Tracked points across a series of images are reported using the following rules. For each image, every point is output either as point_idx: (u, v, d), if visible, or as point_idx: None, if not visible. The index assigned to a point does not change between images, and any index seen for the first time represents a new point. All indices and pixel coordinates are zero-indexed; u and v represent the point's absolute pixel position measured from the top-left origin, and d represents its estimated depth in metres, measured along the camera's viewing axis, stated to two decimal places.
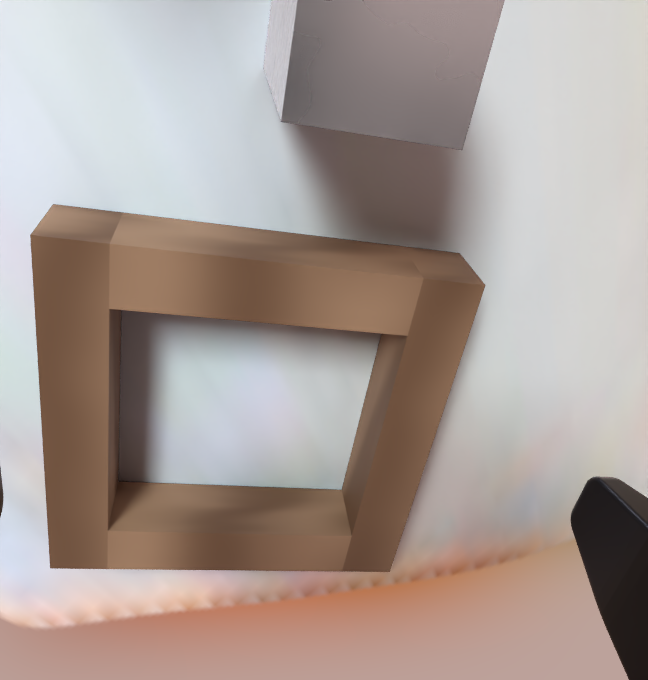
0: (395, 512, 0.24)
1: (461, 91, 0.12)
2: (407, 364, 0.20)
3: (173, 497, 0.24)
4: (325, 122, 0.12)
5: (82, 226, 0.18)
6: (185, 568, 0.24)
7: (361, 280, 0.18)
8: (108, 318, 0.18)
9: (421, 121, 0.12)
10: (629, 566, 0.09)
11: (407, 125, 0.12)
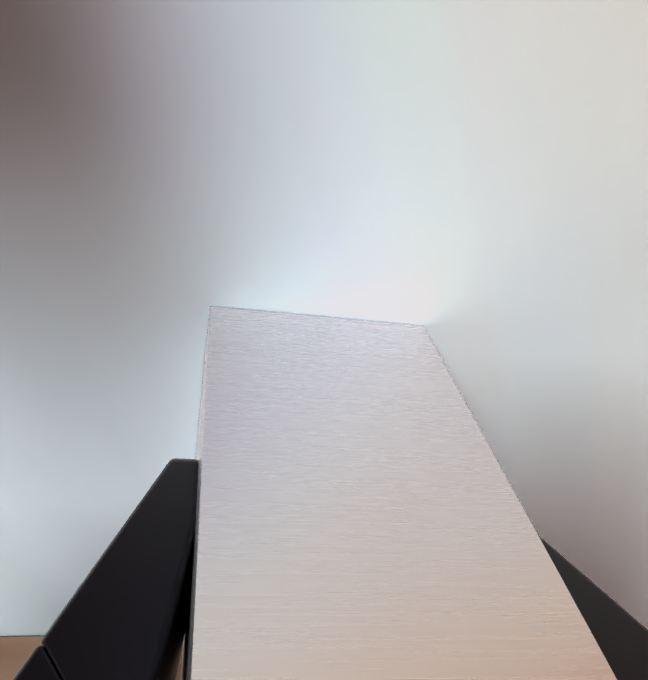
0: None
1: None
2: None
3: None
4: None
5: None
6: None
7: None
8: None
9: None
10: None
11: None
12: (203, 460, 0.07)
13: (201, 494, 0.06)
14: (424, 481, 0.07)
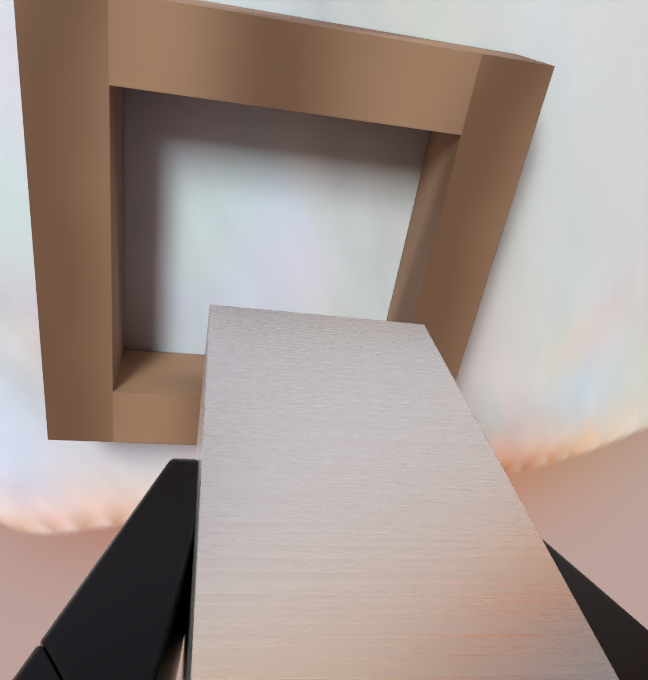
0: None
1: None
2: (460, 175, 0.17)
3: (187, 365, 0.21)
4: None
5: None
6: None
7: (408, 53, 0.15)
8: (108, 99, 0.15)
9: None
10: None
11: None
12: (203, 458, 0.07)
13: (201, 492, 0.06)
14: (424, 479, 0.07)
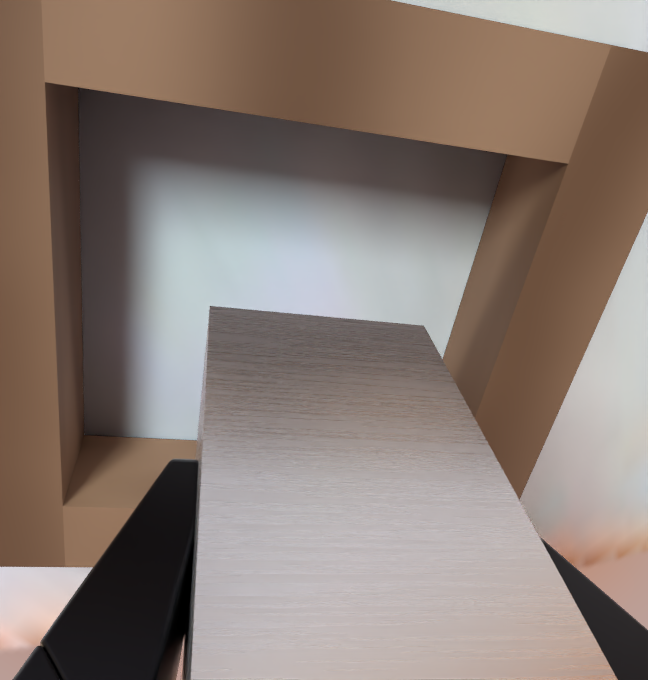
0: None
1: None
2: (560, 220, 0.12)
3: (167, 458, 0.16)
4: None
5: None
6: None
7: (503, 42, 0.10)
8: (44, 103, 0.10)
9: None
10: None
11: None
12: (203, 460, 0.07)
13: (201, 494, 0.06)
14: (424, 481, 0.07)
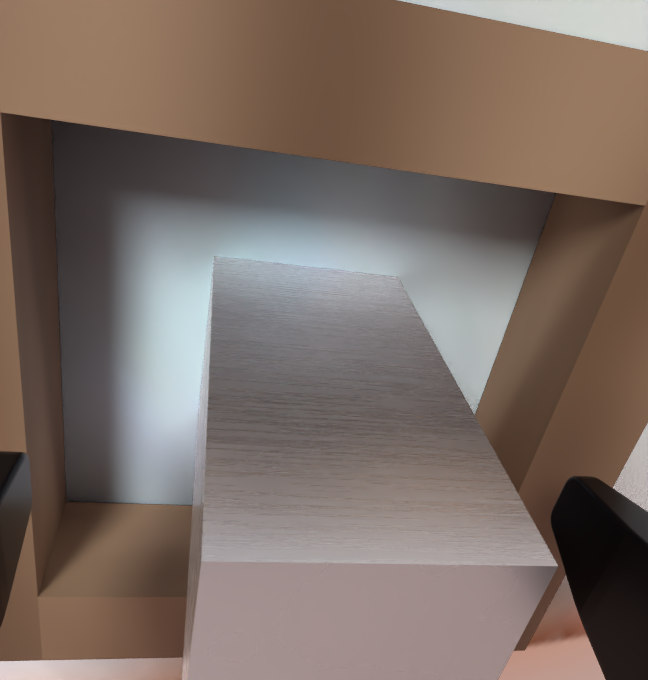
0: (552, 555, 0.13)
1: None
2: (631, 271, 0.10)
3: (161, 529, 0.14)
4: None
5: None
6: (182, 655, 0.13)
7: (576, 61, 0.08)
8: (1, 139, 0.08)
9: None
10: (606, 566, 0.09)
11: None
12: (210, 361, 0.09)
13: (209, 382, 0.08)
14: (387, 382, 0.09)
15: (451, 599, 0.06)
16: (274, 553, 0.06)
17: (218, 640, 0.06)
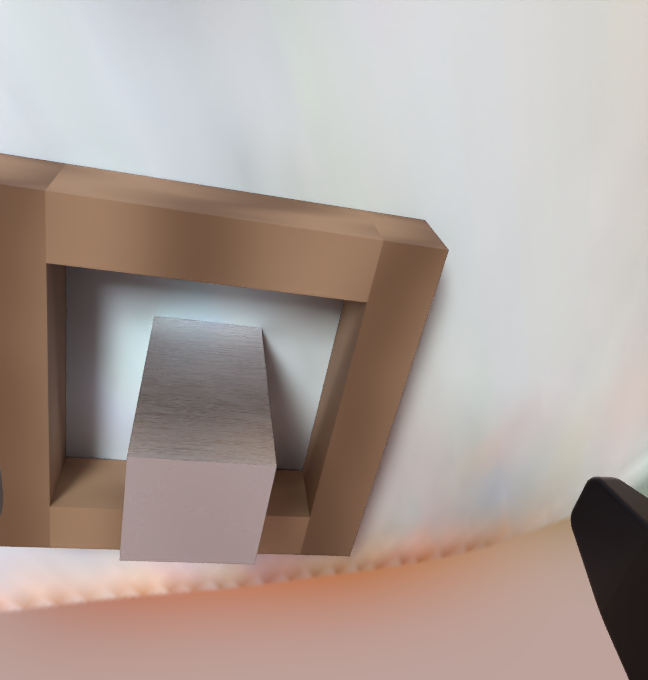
0: (355, 492, 0.23)
1: (247, 537, 0.17)
2: (367, 333, 0.19)
3: (123, 474, 0.23)
4: (151, 558, 0.17)
5: (18, 173, 0.16)
6: None
7: (317, 239, 0.17)
8: (45, 273, 0.17)
9: (221, 552, 0.17)
10: (629, 566, 0.09)
11: (211, 555, 0.17)
12: (142, 377, 0.18)
13: (140, 387, 0.17)
14: (231, 389, 0.18)
15: (232, 479, 0.16)
16: (156, 456, 0.15)
17: (135, 492, 0.15)
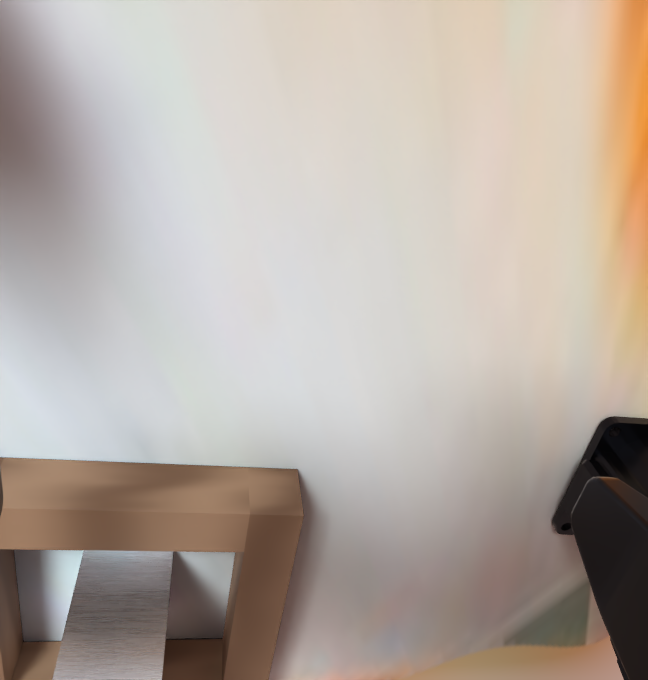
0: (257, 671, 0.28)
1: None
2: (247, 570, 0.24)
3: None
4: None
5: None
6: None
7: (196, 518, 0.22)
8: None
9: None
10: (629, 566, 0.09)
11: None
12: (66, 623, 0.23)
13: (63, 636, 0.22)
14: (136, 627, 0.23)
15: None
16: None
17: None
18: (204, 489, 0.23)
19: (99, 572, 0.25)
